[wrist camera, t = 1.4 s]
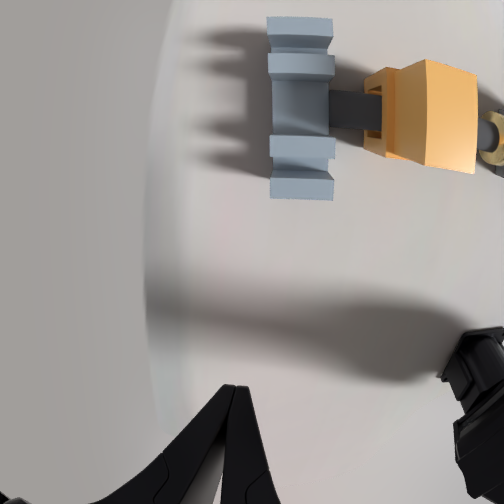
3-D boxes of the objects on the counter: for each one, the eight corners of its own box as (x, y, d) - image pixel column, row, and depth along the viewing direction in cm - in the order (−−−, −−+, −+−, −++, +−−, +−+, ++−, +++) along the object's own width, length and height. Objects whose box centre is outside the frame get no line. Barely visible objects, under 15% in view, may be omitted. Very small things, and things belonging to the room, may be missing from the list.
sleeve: (411, 87, 14) (483, 73, 7) (410, 154, 15) (480, 180, 8) (363, 79, 14) (415, 51, 7) (363, 148, 16) (414, 169, 9)
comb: (322, 42, 14) (332, 18, 10) (323, 182, 17) (333, 200, 13) (272, 41, 14) (266, 16, 10) (275, 180, 18) (269, 198, 14)
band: (485, 113, 13) (515, 115, 10) (483, 160, 14) (512, 171, 11) (477, 110, 13) (507, 112, 10) (474, 159, 14) (504, 168, 11)
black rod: (514, 132, 12) (532, 135, 10) (513, 159, 13) (530, 165, 11) (327, 92, 14) (332, 87, 12) (327, 126, 15) (332, 126, 13)
